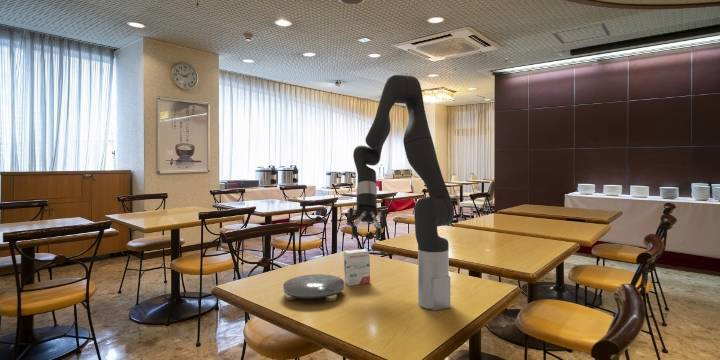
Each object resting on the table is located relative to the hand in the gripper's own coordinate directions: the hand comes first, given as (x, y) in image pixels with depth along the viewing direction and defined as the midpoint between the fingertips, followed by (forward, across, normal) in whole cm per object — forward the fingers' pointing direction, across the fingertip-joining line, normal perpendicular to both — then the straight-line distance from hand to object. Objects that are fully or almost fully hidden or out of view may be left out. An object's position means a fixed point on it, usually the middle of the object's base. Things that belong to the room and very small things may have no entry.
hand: (366, 238), depth 135 cm
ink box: (+14, +1, +11) cm, 18 cm away
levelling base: (+20, -17, +5) cm, 26 cm away
